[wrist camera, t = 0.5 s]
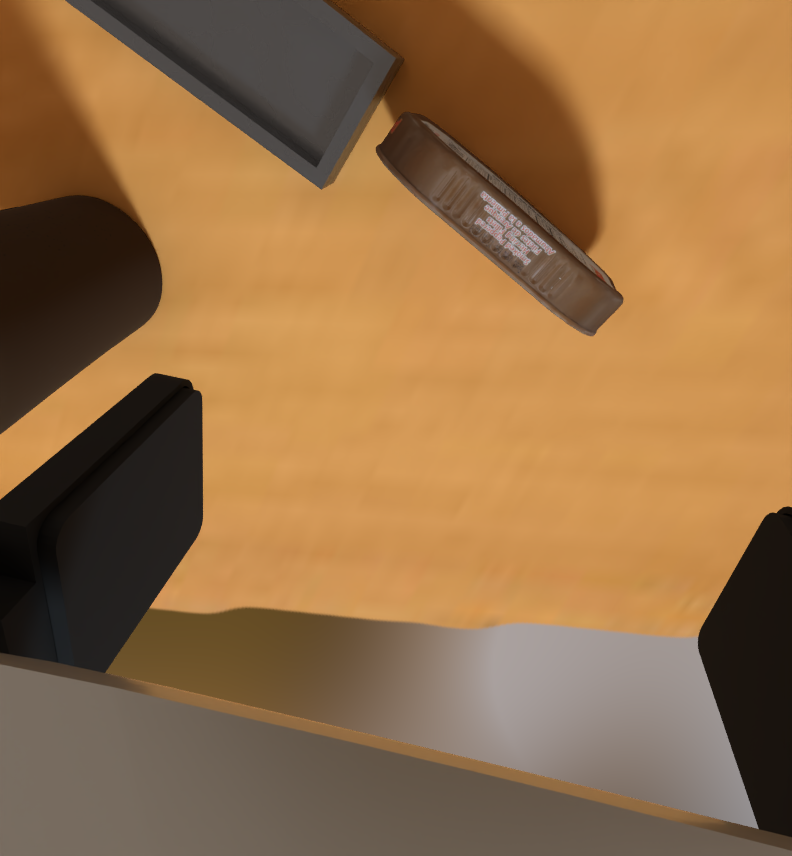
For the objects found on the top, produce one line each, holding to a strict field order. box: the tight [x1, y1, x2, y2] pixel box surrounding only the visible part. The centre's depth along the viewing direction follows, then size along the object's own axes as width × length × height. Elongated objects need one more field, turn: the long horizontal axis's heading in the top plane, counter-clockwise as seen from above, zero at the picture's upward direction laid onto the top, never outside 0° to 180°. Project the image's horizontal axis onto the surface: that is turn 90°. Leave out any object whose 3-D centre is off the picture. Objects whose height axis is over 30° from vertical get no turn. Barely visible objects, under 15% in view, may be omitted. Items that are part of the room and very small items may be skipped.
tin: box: [376, 112, 623, 336], centre depth 32 cm, size 15×3×8 cm, turn 53°
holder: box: [65, 0, 404, 190], centre depth 33 cm, size 8×20×2 cm, turn 56°
